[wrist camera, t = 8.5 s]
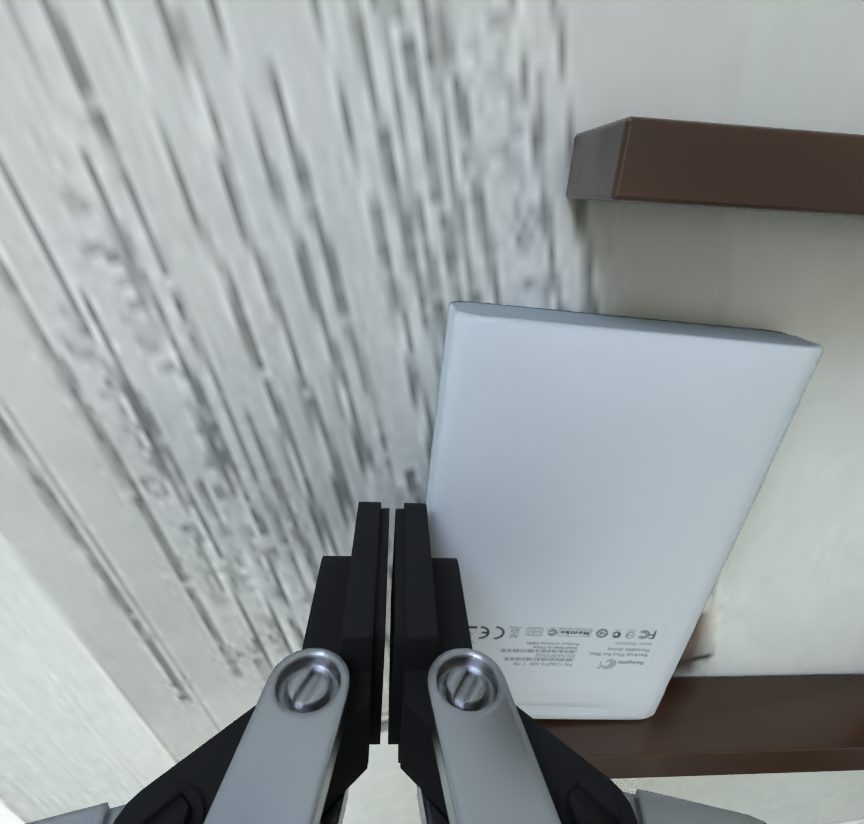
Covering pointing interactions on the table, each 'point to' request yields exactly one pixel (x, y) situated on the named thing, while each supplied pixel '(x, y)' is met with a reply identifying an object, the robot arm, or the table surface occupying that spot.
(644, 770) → the dock
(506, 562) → the hard drive
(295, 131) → the table surface
